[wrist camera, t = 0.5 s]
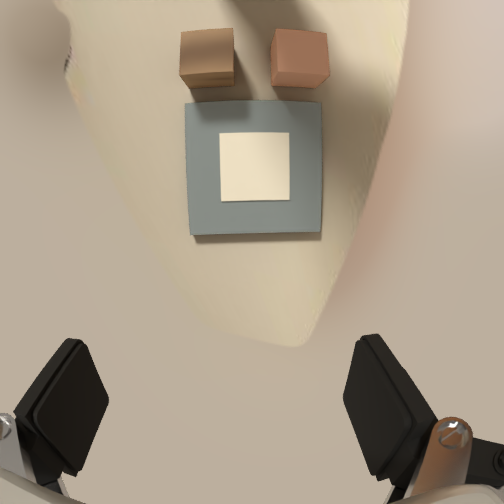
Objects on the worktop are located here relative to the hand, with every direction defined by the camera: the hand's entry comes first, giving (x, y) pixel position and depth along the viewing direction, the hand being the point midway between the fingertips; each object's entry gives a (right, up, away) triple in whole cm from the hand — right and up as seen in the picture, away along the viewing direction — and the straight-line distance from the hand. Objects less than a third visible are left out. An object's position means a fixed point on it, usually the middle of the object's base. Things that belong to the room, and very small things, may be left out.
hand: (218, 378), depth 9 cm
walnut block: (-4, +27, +20) cm, 34 cm away
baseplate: (+1, +14, +24) cm, 28 cm away
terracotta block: (+6, +27, +21) cm, 35 cm away
